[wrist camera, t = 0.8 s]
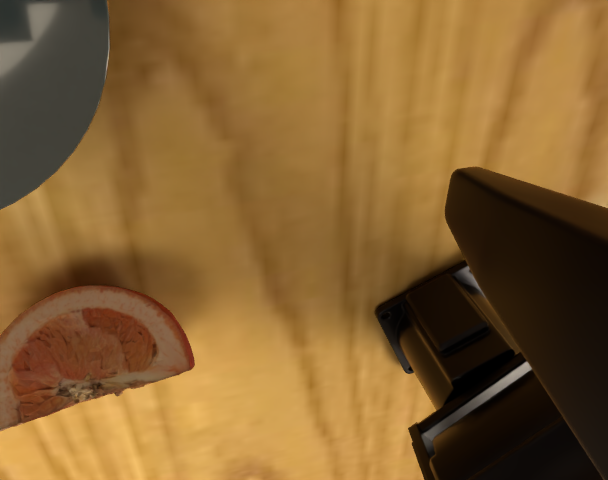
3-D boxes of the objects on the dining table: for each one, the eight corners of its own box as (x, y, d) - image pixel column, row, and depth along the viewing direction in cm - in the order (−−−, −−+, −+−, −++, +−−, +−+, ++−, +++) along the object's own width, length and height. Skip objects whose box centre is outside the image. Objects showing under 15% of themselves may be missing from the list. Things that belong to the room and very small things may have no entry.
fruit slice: (33, 387, 28) (22, 477, 24) (-37, 290, 24) (-64, 380, 20) (197, 335, 29) (212, 414, 25) (158, 234, 25) (169, 309, 21)
